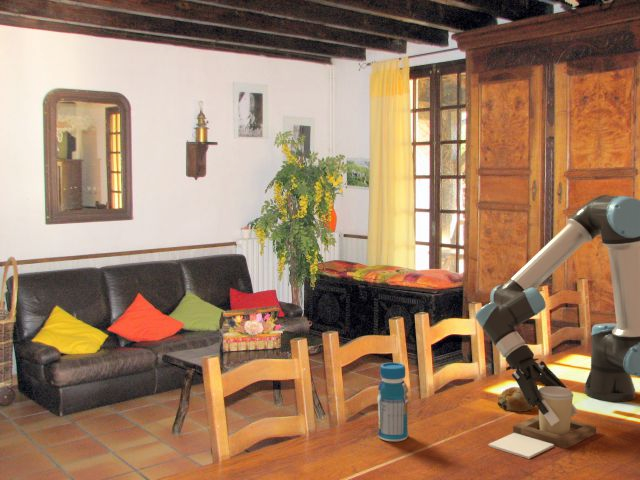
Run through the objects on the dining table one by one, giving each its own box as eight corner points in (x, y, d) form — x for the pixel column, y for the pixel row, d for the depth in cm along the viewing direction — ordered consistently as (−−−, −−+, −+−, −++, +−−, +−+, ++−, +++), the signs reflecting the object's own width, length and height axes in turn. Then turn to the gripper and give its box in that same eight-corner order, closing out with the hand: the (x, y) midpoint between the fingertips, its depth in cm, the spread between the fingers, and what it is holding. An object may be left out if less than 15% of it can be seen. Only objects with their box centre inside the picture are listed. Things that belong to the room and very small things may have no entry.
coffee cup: (572, 429, 206) (573, 387, 204) (572, 441, 197) (573, 397, 196) (537, 425, 209) (538, 384, 207) (536, 437, 200) (536, 394, 199)
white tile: (514, 434, 202) (514, 432, 202) (553, 446, 193) (553, 444, 193) (488, 446, 194) (488, 443, 194) (528, 459, 185) (528, 456, 185)
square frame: (544, 419, 214) (544, 412, 214) (596, 433, 202) (596, 426, 202) (513, 433, 203) (513, 426, 203) (566, 448, 191) (566, 441, 191)
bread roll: (526, 424, 220) (539, 401, 219) (495, 408, 222) (507, 386, 220) (524, 414, 230) (536, 392, 229) (494, 398, 231) (505, 376, 230)
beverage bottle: (388, 444, 196) (388, 371, 194) (371, 434, 203) (371, 363, 201) (414, 439, 199) (414, 366, 198) (397, 429, 207) (397, 359, 205)
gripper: (528, 352, 220) (576, 416, 209) (484, 365, 205) (534, 435, 195) (544, 337, 215) (594, 402, 205) (501, 350, 200) (553, 421, 190)
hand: (565, 418), depth 200 cm, fingers closed on coffee cup, 9 cm apart
